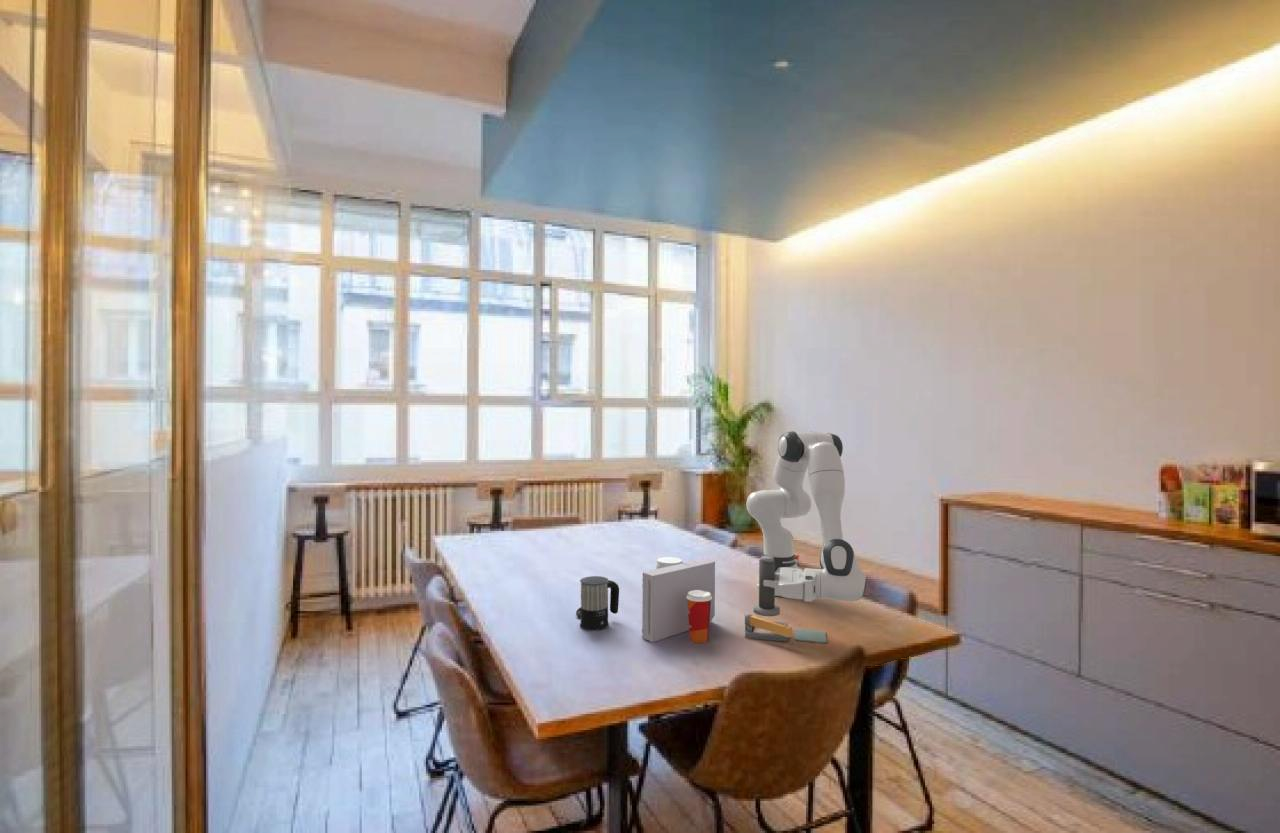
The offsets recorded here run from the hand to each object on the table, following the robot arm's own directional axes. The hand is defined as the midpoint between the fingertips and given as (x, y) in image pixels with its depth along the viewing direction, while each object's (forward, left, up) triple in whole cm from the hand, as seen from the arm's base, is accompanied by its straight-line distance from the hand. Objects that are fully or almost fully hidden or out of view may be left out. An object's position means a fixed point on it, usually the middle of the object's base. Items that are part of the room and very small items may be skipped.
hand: (764, 579), depth 187 cm
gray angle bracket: (0, +1, -16) cm, 16 cm away
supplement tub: (-2, -42, -17) cm, 45 cm away
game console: (+18, -20, -17) cm, 31 cm away
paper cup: (+20, -10, -17) cm, 28 cm away
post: (+5, -2, -16) cm, 17 cm away
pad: (-7, +12, -16) cm, 22 cm away
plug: (-1, +1, -10) cm, 10 cm away
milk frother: (+33, -45, -17) cm, 58 cm away
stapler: (+6, +5, -13) cm, 15 cm away
